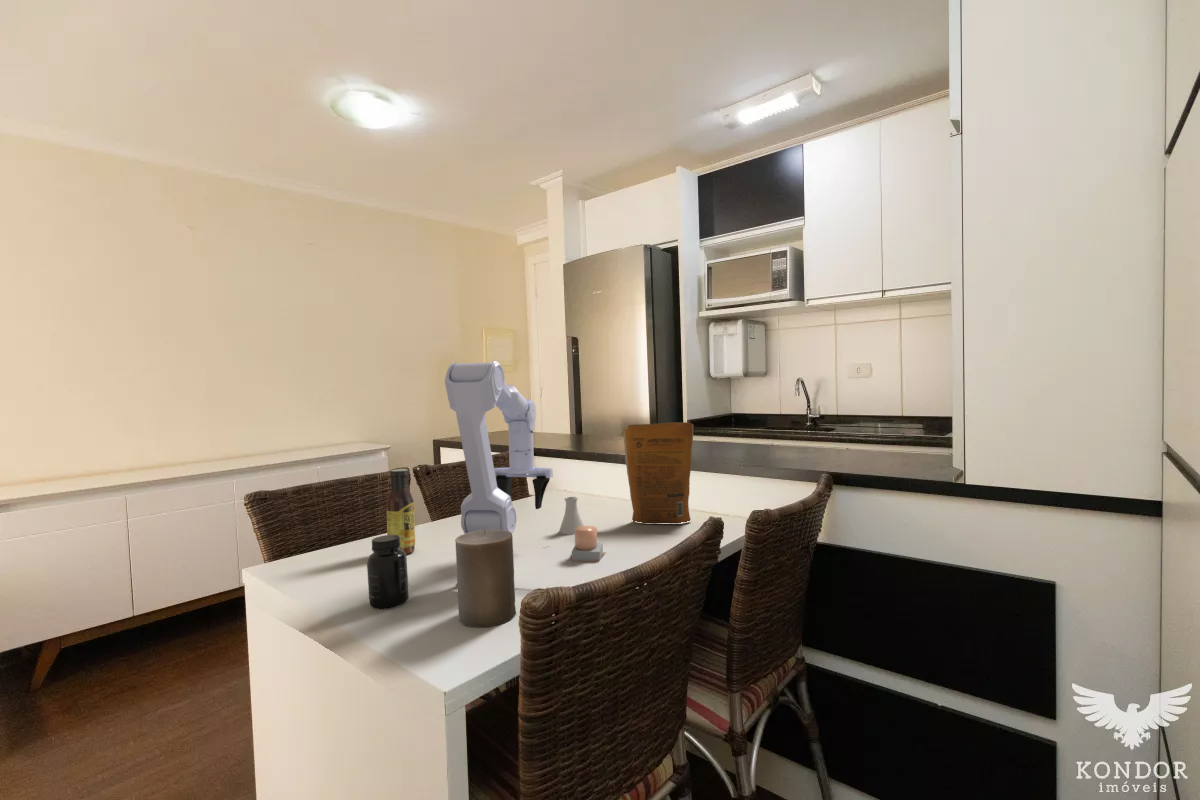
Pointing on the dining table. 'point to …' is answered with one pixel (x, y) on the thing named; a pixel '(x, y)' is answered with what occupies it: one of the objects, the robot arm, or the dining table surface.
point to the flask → (570, 517)
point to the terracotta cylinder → (585, 537)
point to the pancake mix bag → (659, 470)
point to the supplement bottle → (387, 573)
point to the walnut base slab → (588, 561)
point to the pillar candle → (485, 577)
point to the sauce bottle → (401, 511)
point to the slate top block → (588, 554)
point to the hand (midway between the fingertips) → (523, 507)
